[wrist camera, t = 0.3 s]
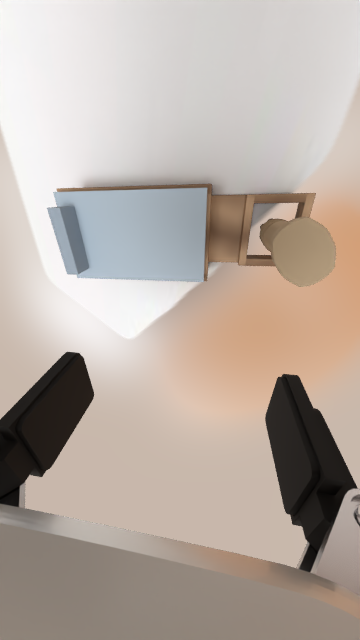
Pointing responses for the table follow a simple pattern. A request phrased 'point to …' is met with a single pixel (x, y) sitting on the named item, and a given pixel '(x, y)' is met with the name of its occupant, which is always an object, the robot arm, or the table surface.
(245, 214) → the toolbox
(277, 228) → the handle
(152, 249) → the lid
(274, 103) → the table surface
